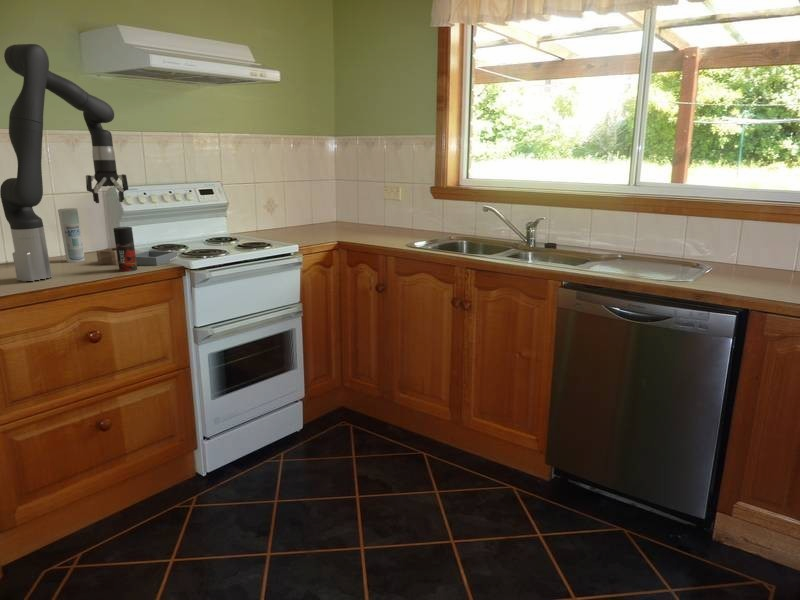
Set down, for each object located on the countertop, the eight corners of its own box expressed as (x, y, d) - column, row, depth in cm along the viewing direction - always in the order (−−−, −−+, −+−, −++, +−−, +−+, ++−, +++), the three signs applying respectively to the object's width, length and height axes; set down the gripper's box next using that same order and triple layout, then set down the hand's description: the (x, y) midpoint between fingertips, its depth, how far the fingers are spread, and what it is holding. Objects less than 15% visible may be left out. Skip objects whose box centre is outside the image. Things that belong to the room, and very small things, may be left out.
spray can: (81, 258, 233) (73, 207, 228) (88, 260, 229) (80, 208, 223) (63, 261, 228) (55, 209, 223) (70, 263, 224) (61, 210, 219)
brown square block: (116, 264, 219) (114, 251, 218) (98, 264, 221) (96, 250, 220) (130, 260, 226) (129, 247, 225) (113, 260, 228) (111, 247, 227)
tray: (156, 265, 216) (155, 257, 216) (127, 264, 220) (126, 256, 219) (177, 259, 228) (176, 251, 227) (149, 258, 231) (148, 250, 231)
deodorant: (117, 272, 206) (111, 229, 202) (120, 268, 212) (114, 227, 208) (136, 270, 208) (130, 228, 204) (138, 267, 213) (133, 226, 209)
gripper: (86, 159, 213) (92, 204, 217) (127, 158, 223) (132, 202, 227) (80, 159, 219) (86, 203, 223) (120, 158, 228) (125, 201, 232)
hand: (109, 202), depth 225 cm, fingers open, 8 cm apart
